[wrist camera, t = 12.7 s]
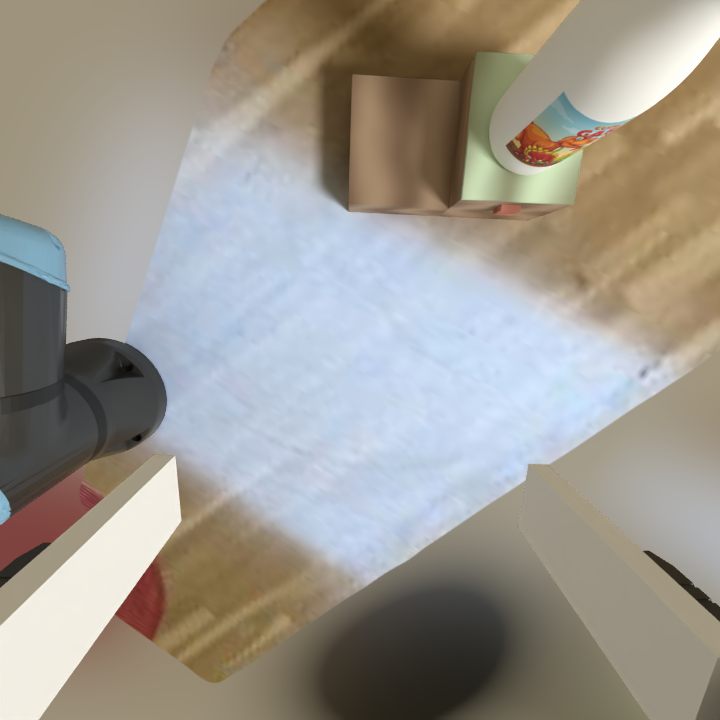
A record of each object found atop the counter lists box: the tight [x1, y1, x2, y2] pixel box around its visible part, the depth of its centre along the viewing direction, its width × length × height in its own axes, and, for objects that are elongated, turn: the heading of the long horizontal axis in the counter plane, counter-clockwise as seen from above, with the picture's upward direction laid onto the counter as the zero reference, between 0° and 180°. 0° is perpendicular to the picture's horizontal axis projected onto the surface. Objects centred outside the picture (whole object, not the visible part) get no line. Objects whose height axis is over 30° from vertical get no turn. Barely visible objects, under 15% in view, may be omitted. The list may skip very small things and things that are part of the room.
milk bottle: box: [489, 0, 720, 175], centre depth 21 cm, size 8×8×20 cm
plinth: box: [348, 51, 583, 220], centre depth 35 cm, size 22×13×8 cm, turn 88°
